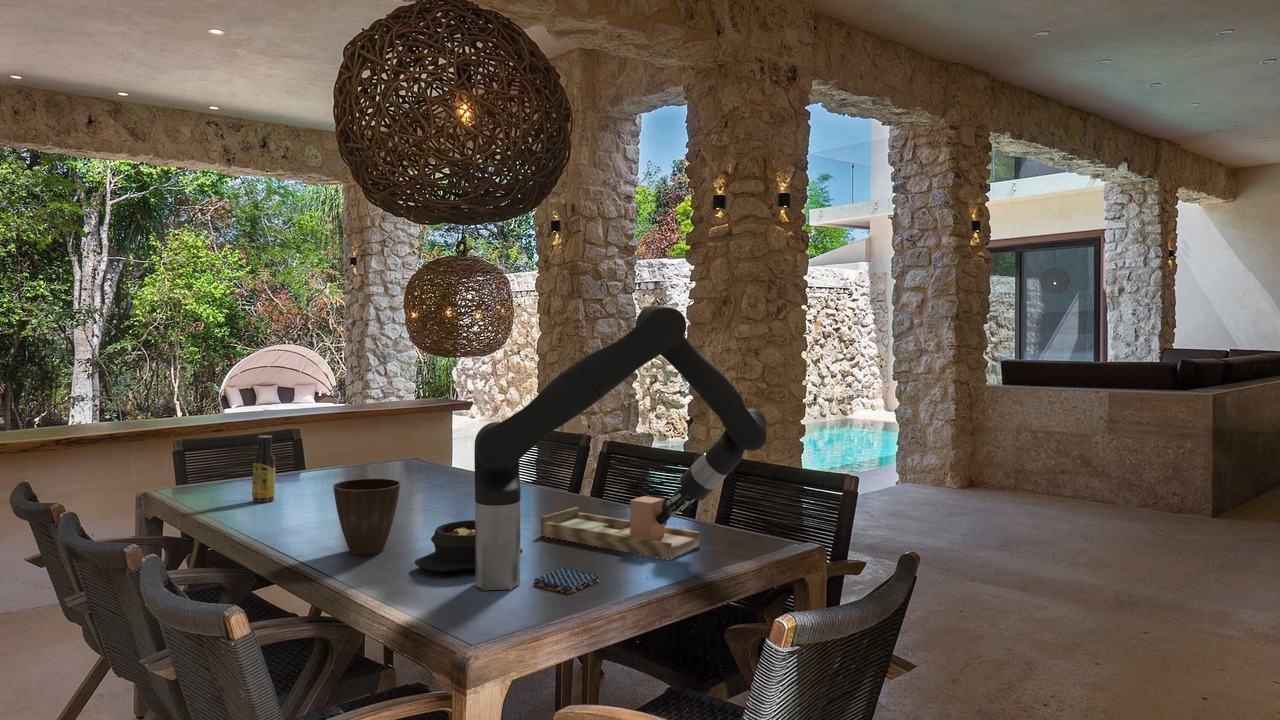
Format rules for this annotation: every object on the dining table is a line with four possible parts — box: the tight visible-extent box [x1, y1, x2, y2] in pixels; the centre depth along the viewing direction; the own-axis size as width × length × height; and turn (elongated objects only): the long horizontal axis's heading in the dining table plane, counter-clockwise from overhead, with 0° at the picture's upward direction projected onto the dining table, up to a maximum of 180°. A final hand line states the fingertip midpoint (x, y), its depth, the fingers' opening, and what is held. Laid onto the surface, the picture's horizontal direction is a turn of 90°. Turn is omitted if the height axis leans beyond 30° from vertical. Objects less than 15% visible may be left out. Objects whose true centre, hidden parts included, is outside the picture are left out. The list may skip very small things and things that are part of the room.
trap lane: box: [540, 506, 701, 561], centre depth 204 cm, size 38×14×5 cm, turn 56°
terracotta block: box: [629, 495, 665, 540], centre depth 199 cm, size 6×6×9 cm
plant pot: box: [332, 478, 401, 556], centre depth 193 cm, size 15×15×16 cm
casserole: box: [414, 519, 524, 573], centre depth 183 cm, size 25×19×8 cm
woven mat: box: [532, 567, 600, 593], centre depth 170 cm, size 10×11×2 cm
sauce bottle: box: [251, 435, 276, 504], centre depth 248 cm, size 7×6×20 cm
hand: (659, 521), depth 197 cm, fingers closed
